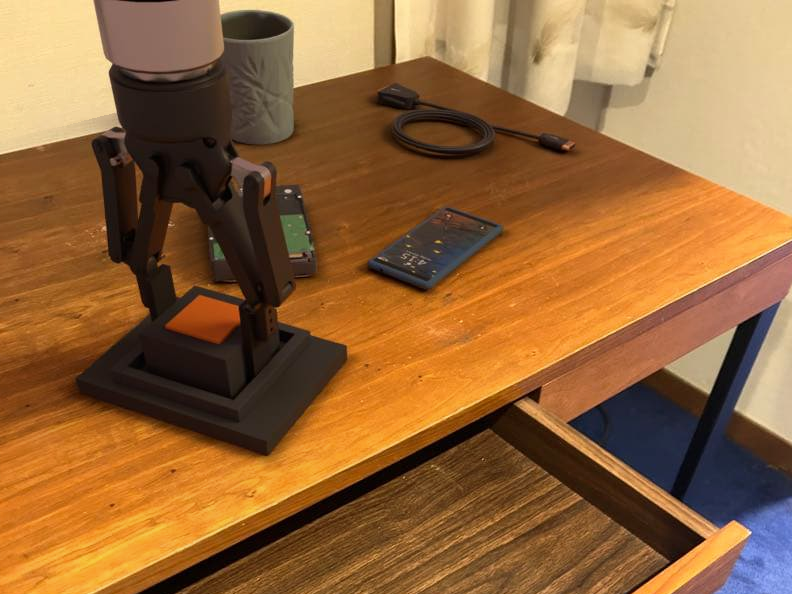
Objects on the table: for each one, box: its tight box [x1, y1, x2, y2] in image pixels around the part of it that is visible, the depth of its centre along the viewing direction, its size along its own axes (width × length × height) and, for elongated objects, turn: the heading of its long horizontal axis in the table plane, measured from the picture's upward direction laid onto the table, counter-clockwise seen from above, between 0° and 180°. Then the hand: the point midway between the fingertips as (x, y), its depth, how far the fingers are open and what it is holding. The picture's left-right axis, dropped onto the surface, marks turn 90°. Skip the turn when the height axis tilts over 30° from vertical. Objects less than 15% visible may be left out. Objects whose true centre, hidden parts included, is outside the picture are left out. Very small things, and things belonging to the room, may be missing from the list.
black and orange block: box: [139, 285, 280, 400], centre depth 71 cm, size 8×8×4 cm
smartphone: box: [367, 205, 504, 290], centre depth 88 cm, size 8×1×15 cm
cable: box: [376, 82, 576, 155], centre depth 107 cm, size 14×28×2 cm, turn 55°
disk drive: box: [206, 184, 318, 283], centre depth 88 cm, size 10×3×15 cm
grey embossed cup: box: [220, 9, 295, 146], centre depth 103 cm, size 10×10×12 cm
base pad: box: [74, 295, 348, 456], centre depth 72 cm, size 18×14×3 cm
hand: (214, 354), depth 72 cm, fingers closed on black and orange block, 8 cm apart
